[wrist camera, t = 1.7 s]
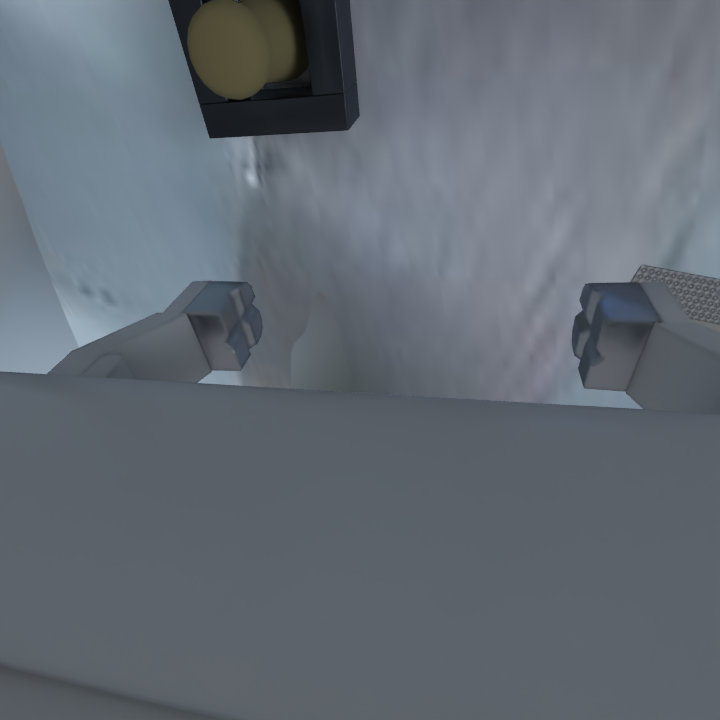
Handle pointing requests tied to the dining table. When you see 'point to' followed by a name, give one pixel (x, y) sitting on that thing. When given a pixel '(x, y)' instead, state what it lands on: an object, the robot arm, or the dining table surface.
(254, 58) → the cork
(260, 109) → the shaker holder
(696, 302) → the architectural model
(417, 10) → the dining table surface
